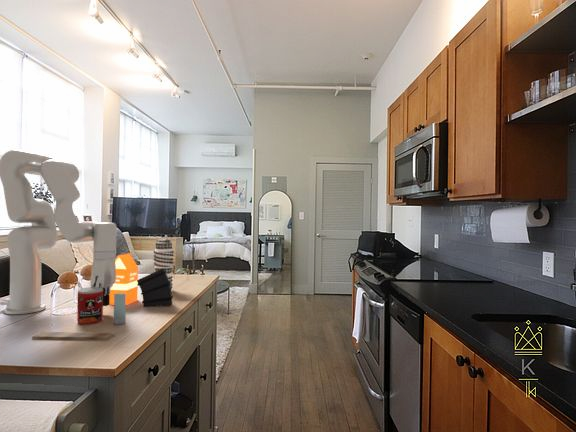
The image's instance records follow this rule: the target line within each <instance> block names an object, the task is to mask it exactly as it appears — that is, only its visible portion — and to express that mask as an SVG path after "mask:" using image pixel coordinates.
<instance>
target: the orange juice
mask: <svg viewBox="0 0 576 432" xmlns="http://www.w3.org/2000/svg"><path fill="white" fill-rule="evenodd" d="M115 263H116V282H115V283H114V284H113V287H111V291H110V304H109V305H113V306H114V294H116V293H126V302H125V306H127V305H130V304H132V303H134V302H137V301H138V293H139V292H138V291H139V289H138V288H139V286H138V285H137V284H138V282H137V280H139V277H138V276H139V273H138V272H139V266H138V265H137V263H136V261H135V260H134V258H133V256H132V255H131V253H125V254H120V255H119V254H118V256H116V260H115Z"/></svg>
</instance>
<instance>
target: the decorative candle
mask: <svg viewBox="0 0 576 432" xmlns="http://www.w3.org/2000/svg"><path fill="white" fill-rule="evenodd" d="M154 243H155V248H154V250H153V257H154V258H153V261H154V262H153V265H154V266H153V268H155V269H154V272H156V271H158V270H160V269H162V268H164V270H166V274H167V276H168V280H169V282H171V284H170V287H171V293H172V292H173V286H174V284H173V271H172V269H173V267H174V266H173V264H174V262H173V260H174V258H173V257H174V256H175V255H174V253H175V251H174V250H173V242H172V240H171V239H170V238H158V239H156V242H154Z"/></svg>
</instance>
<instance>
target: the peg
mask: <svg viewBox="0 0 576 432" xmlns="http://www.w3.org/2000/svg"><path fill="white" fill-rule="evenodd" d="M125 302H126V293H116V294H114V305H113V325H114V326H123V325H125V324H126V305H125Z"/></svg>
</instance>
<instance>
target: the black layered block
mask: <svg viewBox="0 0 576 432" xmlns="http://www.w3.org/2000/svg"><path fill="white" fill-rule="evenodd" d="M137 282H138V284H137V285H138V287H139V288H140V290H141V293H140V295H141V296H142V301H141V303H142V307H144V308H145V307H147V308H149V307H150V308H151V307H152V308H153V307H171V306H172V304H173V299H174V296H173V294H172V292H171V287H170V284H171V282H169V280H168V276H167V274H166V270H164V268H162V269H160V270H158V271H156V272H155V271H154V272H152V273H150V274H147V275H145V276H143V277H141V278H138V280H137Z"/></svg>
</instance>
